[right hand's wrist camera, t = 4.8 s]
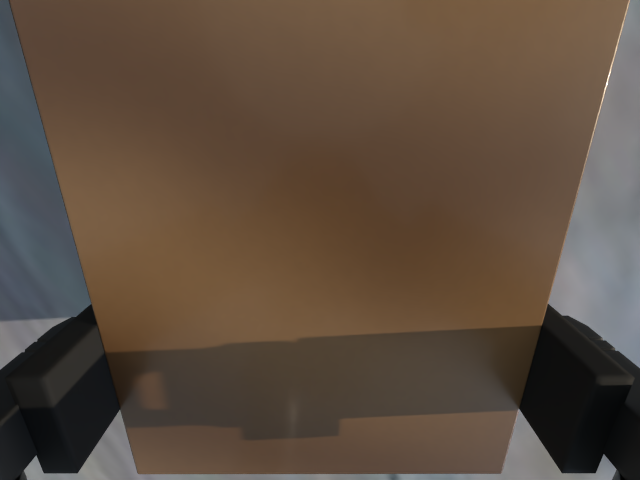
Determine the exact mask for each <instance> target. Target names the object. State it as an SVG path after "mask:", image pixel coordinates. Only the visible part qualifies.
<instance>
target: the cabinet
mask: <svg viewBox="0 0 640 480" xmlns="http://www.w3.org/2000/svg"><path fill="white" fill-rule="evenodd" d="M9 3H10V7H11V11H12V14H13V18H14V22H15V25H16V29H17V33H18V36H19V40H20V44H21V47H22V51H23V55H24V58H25V62H26V66H27V69H28V73H29V77H30V80H31V84H32V88H33V91H34V95H35V99H36V102H37V106H38V110H39V113H40V117H41V121H42V124H43V128H44V132H45V135H46V139H47V143H48V146H49V150H50V154H51V157H52V161H53V165H54V168H55V172H56V176H57V179H58V183H59V187H60V190H61V194H62V198H63V201H64V205H65V209H66V212H67V216H68V220H69V223H70V227H71V231H72V234H73V238H74V242H75V245H76V249H77V253H78V256H79V260H80V264H81V267H82V271H83V275H84V278H85V282H86V286H87V289H88V293H89V297H90V300H91V304H92V308H93V311H94V315H95V319H96V322H97V326H98V330H99V333H100V337H101V341H102V344H103V348H104V352H105V355H106V359H107V363H108V366H109V370H110V374H111V377H112V381H113V385H114V388H115V392H116V396H117V399H118V403H119V407H120V410H121V414H122V418H123V421H124V425H125V429H126V432H127V436H128V440H129V443H130V447H131V451H132V454H133V458H134V462H135V465H136V469H137V473H138V474H501V473H502V471H503V467H504V463H505V460H506V456H507V452H508V449H509V445H510V441H511V438H512V434H513V430H514V427H515V423H516V419H517V415H518V412H519V408H520V404H521V401H522V397H523V393H524V390H525V386H526V382H527V379H528V375H529V371H530V368H531V364H532V360H533V356H534V353H535V349H536V345H537V342H538V338H539V334H540V331H541V327H542V323H543V320H544V316H545V312H546V309H547V305H548V301H549V297H550V294H551V290H552V286H553V283H554V279H555V275H556V272H557V268H558V264H559V261H560V257H561V253H562V250H563V246H564V242H565V239H566V235H567V231H568V227H569V224H570V220H571V216H572V213H573V209H574V205H575V202H576V198H577V194H578V191H579V187H580V183H581V180H582V176H583V172H584V168H585V165H586V161H587V157H588V154H589V150H590V146H591V143H592V139H593V135H594V132H595V128H596V124H597V121H598V117H599V113H600V109H601V106H602V102H603V98H604V95H605V91H606V87H607V84H608V80H609V76H610V73H611V69H612V65H613V62H614V58H615V54H616V50H617V47H618V43H619V39H620V36H621V32H622V28H623V25H624V21H625V17H626V14H627V10H628V6H629V3H630V0H9Z"/></svg>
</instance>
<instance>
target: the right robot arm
mask: <svg viewBox="0 0 640 480" xmlns="http://www.w3.org/2000/svg"><path fill="white" fill-rule="evenodd" d="M519 409H520V411H521V412H522V414H523V415H524V417H525V418H526V420H527V421H528V423H529V424H530V426H531V427H532V429H533V430H534V432H535V433H536V435H537V436H538V438H539V439H540V441H541V442H542V444H543V445H544V447H545V448H546V450H547V451H548V453H549V454H550V456H551V457H552V459H553V460H554V462H555V463H556V465H557V466H558V468H559V469H560V471H561V472H562V473H596V471H597V468H598V466H599V464H600V461H601V459H602V456H603V454H605V456H606V457H607V458H608V459H609V460H610V462H611V463H612V464H613V465H614V467H615V468H616V469H617V470H616V473H615V475H614V477H613V479H612V480H640V368H639V367H637V366H636V365H635V364H634V363H632V362H631V361H630V360H629V359H628V358H626V357H625V356H624V355H623V354H621V353H620V352H619V351H615V348H614V347H613V346H612V345H610V344H609V343H608V342H607V341H603V340H602V337H600V336H599V335H598V334H597V333H595V332H594V331H593V330H592V329H591V328H589V327H588V326H586V325H585V324H583V323H581V322H579V321H577V320H575V319H573V318H571V317H569V316H562V315H561V314H559V313H558V312H557V311H556V310H555V309H554V308H552V307H551V306H550V305H549V304H548V305H547V309H546V312H545V316H544V320H543V323H542V327H541V331H540V334H539V338H538V342H537V345H536V349H535V353H534V356H533V360H532V364H531V368H530V371H529V375H528V379H527V382H526V386H525V390H524V393H523V397H522V401H521V404H520V408H519ZM119 410H120V407H119V403H118V399H117V396H116V392H115V388H114V385H113V381H112V377H111V374H110V370H109V366H108V363H107V359H106V355H105V352H104V348H103V344H102V341H101V337H100V333H99V330H98V326H97V322H96V319H95V315H94V311H93V308H92V304H91V305H90V306H88V307H87V308H86V309H85V310H84V311H82V312H81V313H80V314H79V315H78V316H77V317H71V318H69V319H67V320H65V321H63V322H62V323H60V324H58V325H56V326H54V327H52V328H51V329H50V330H49V331H47V332H46V333H45V334H44V335H42V336H41V337H40V338H39V339H38V341H37V342H34V343H33V344H31V345H30V346H29V347H28V348H27V349H25V352H22V353H20V354H19V355H18V356H17V357H15V358H14V359H13V360H12V361H11V362H9V363H8V364H7V365H6V366H4V367H3V368H2V369H1V370H0V480H27V478H26V475H25V473H24V469H25V468H26V467H27V466H28V464H29V463H30V462H31V461H32V460H33V458H34V457H35V456H36V455H37V458H38V460H39V462H40V465H41V467H42V470H43V472H44V473H78V472H79V470H80V469H81V467H82V466H83V464H84V463H85V461H86V460H87V458H88V457H89V455H90V454H91V452H92V451H93V449H94V448H95V446H96V445H97V443H98V442H99V440H100V439H101V437H102V436H103V434H104V433H105V431H106V430H107V428H108V427H109V425H110V424H111V422H112V421H113V419H114V418H115V416H116V415H117V413H118V411H119Z"/></svg>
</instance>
